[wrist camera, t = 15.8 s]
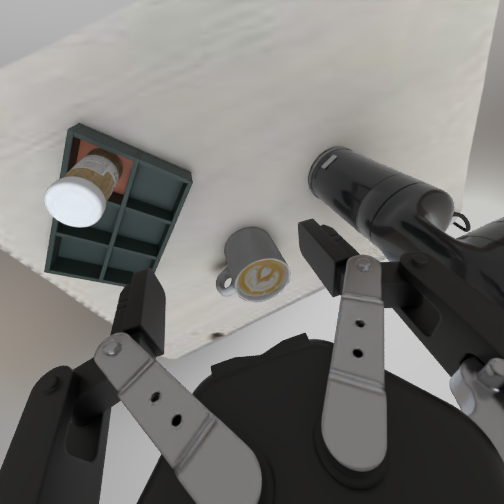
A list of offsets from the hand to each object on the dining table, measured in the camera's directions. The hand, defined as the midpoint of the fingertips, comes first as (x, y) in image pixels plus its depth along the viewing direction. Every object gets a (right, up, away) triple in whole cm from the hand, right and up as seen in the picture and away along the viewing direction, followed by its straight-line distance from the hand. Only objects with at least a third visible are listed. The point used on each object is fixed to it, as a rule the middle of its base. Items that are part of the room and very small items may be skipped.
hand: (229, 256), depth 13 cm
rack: (-20, +6, +25) cm, 32 cm away
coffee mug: (-1, 0, +36) cm, 36 cm away
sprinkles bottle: (-19, +12, +20) cm, 30 cm away
